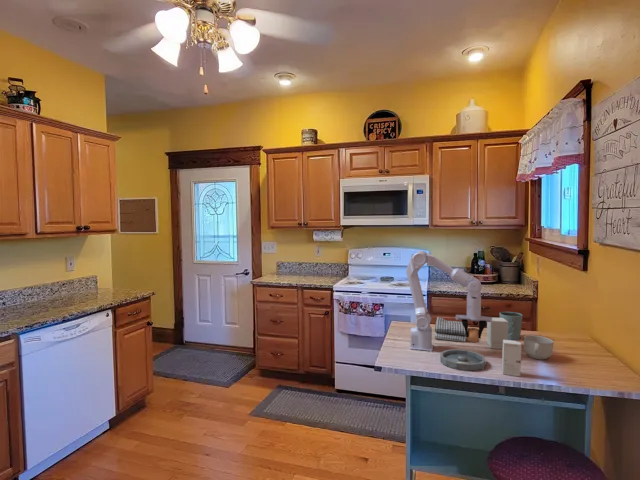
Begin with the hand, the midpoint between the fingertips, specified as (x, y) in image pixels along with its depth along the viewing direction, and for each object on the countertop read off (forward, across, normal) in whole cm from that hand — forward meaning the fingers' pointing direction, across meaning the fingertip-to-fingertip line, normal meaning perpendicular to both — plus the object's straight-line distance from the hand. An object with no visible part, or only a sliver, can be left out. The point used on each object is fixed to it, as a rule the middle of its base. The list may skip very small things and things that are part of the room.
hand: (473, 337), depth 161 cm
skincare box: (+7, +12, -19) cm, 24 cm away
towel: (+8, -9, +23) cm, 26 cm away
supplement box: (+7, +11, +13) cm, 19 cm away
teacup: (+7, +25, +2) cm, 26 cm away
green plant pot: (+7, +19, +29) cm, 35 cm away
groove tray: (+7, -5, -13) cm, 16 cm away
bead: (+2, 0, 0) cm, 2 cm away
